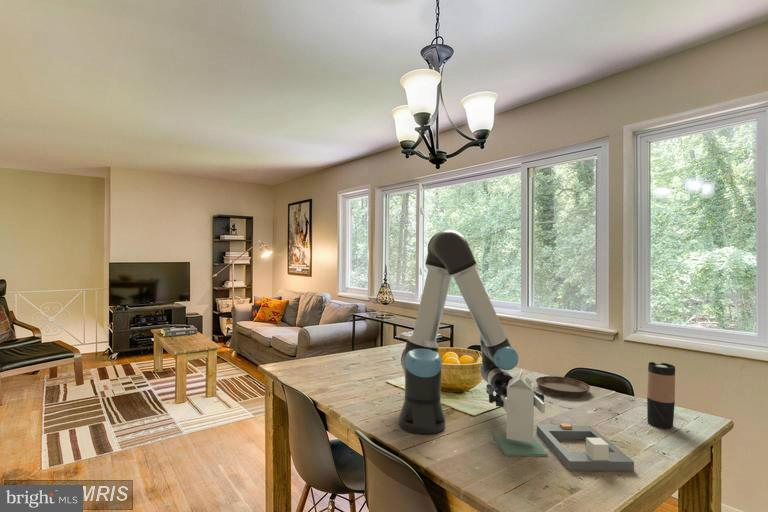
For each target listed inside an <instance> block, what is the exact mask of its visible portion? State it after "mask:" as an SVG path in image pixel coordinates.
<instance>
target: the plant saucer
mask: <svg viewBox="0 0 768 512" xmlns="http://www.w3.org/2000/svg"><path fill="white" fill-rule="evenodd" d="M535 382H536V384H537V386H538V387H539V388H540V389H541V390H542V391H544V392H546V393H548V394H551V395H554V396H558V397H564V398H578V397H582V396H584V395H586V394H587V393H588V392H589V391H590V390H591V386H590V385H589V384H588V383H586V382H584V381H581V380H578V379H575V378H570V377H564V376H556V375H555V376H554V375H548V376H547V375H545V376H539V377H537V378H536V379H535Z"/></svg>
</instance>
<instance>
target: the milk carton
mask: <svg viewBox="0 0 768 512" xmlns="http://www.w3.org/2000/svg"><path fill="white" fill-rule="evenodd" d="M534 389H535V384H534V380H533V379H532V378H531V377H530V376H528V375H525V373H523V368H521V370H520V373H518V374H517V375H515V376H514V377H513V378H512V379H511V380H510V381H509V383H508V386H507V397H506V400H507V401H508V402H509V403H510V413H507V412H506V433H505V434H506V439H511V440H517V441H522V442H528V443H532V442H533V437H534V417H535V416H534V415H535V414H534V410H535V409H534V407H535V406H534Z"/></svg>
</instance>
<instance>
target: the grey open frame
mask: <svg viewBox="0 0 768 512" xmlns="http://www.w3.org/2000/svg"><path fill="white" fill-rule="evenodd" d="M536 434H537V435H538V437H539V438H541V440H542V441H543V442H544V444H545V445H546V446H547V447H548V448H549V450H550V451H552V453H553V454H554V455H555V456H556V458H558V459H559V461H560V460H561V461H560V462H561V463H562V464H563V465H564V467H565V468H566V469H567V468H568V469H569V470H568V469H567V470H568V471H570V470H579V472H608V471H607V470H610V471H609V472H634V471H635V461H634V460H633V459H631V458H630V457H629V456H628V455H627V454H626V453H624V452H623V451H622V450H621V449H619V448H618V447H617V446H616V445H614V444H613V443H612V442H611V441H610V440H608V439H607V438H606V437H604V436H603V435H602V434H601V433H600V432H598V430H596V429H595V428H594V427H593V426H592V425H571V424H570V423H559V425H558V424H557V425H556V424H555V425H551V424H549V425H548V424H544V425H543V424H541V425H540V424H539V425H538V424H537V425H536ZM559 440H585V451H568V449H566V448H565V447H564V446H563V444H562V443H560V442H559ZM601 470H602V471H601ZM570 472H571V471H570Z"/></svg>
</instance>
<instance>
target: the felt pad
mask: <svg viewBox="0 0 768 512" xmlns="http://www.w3.org/2000/svg"><path fill="white" fill-rule="evenodd" d="M492 437H493V439H494V440H495V442H496V443H497V444H498V445H497V446H498V447H499V449H500V450H501V452H502V453H503V455H504V456H505V457H509V456H510V457H512V456H513V457H549V453H548V452H547V450H546V449H544V447H543V446H542V445H541V444H540V443H539V441H538V440H537V439H536V438H535V437H534V436H533V442H532V443H528V442H522V441H517V440H511V439H506V433H505V434H504V433H503V434H500V433H499V434H497V433H496V434H495V433H493V434H492Z"/></svg>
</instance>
